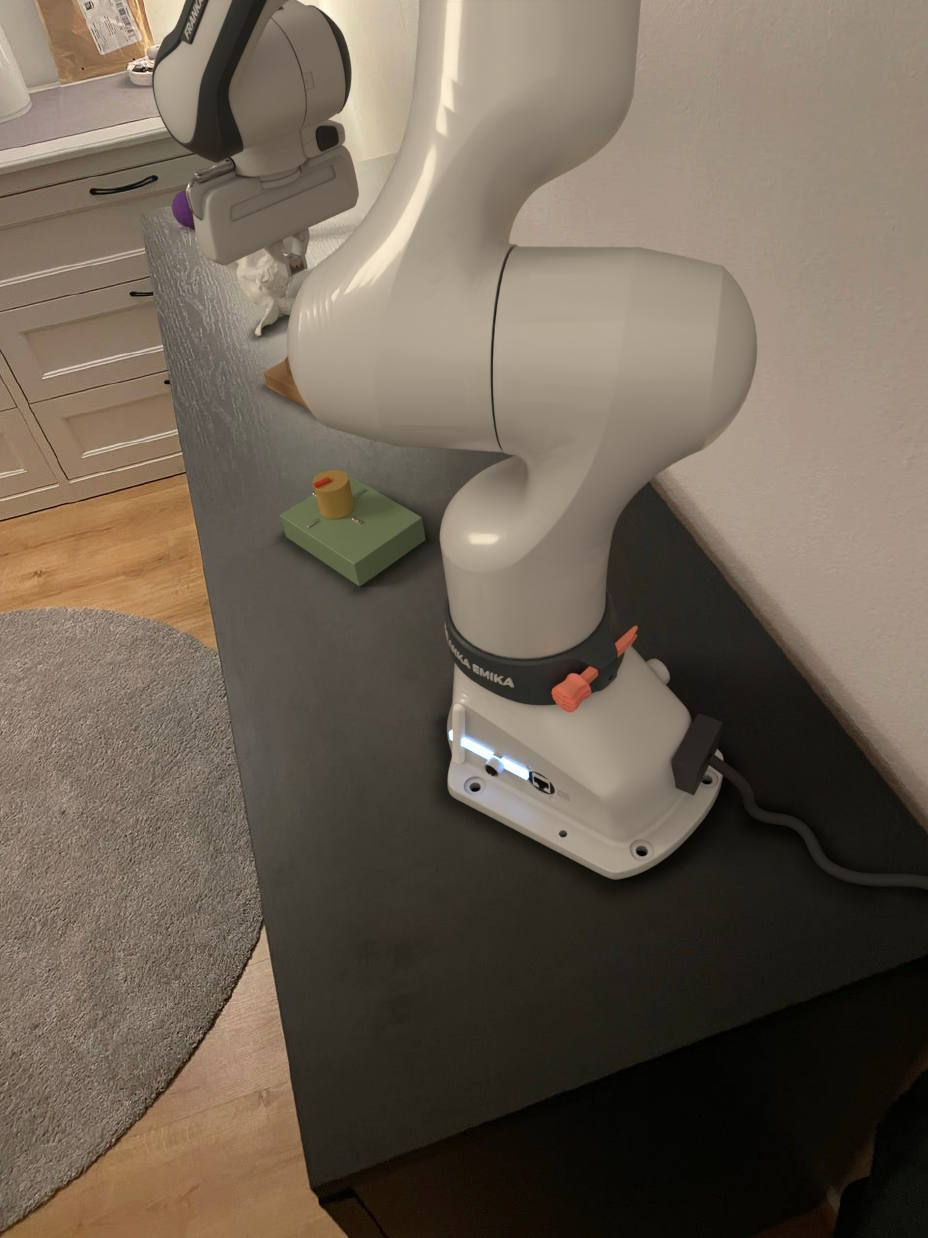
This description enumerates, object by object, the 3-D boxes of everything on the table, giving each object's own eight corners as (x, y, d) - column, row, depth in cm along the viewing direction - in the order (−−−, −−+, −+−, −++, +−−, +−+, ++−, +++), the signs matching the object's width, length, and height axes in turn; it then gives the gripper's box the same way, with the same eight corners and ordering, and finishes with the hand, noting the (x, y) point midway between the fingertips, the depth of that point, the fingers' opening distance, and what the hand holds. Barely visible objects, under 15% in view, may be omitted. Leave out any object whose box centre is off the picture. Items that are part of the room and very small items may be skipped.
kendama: (288, 188, 154) (171, 203, 150) (292, 220, 159) (179, 236, 154) (281, 170, 157) (166, 185, 153) (285, 203, 162) (173, 218, 158)
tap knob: (344, 492, 93) (337, 462, 90) (360, 509, 90) (354, 479, 88) (313, 506, 91) (305, 476, 89) (329, 523, 89) (322, 493, 86)
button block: (374, 383, 113) (369, 355, 110) (319, 415, 109) (312, 386, 106) (320, 358, 119) (314, 330, 116) (267, 387, 115) (259, 359, 112)
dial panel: (426, 540, 91) (422, 515, 88) (359, 587, 87) (353, 563, 84) (351, 495, 97) (345, 471, 95) (286, 537, 93) (278, 513, 91)
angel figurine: (299, 359, 129) (222, 324, 121) (272, 290, 141) (200, 253, 133) (349, 282, 123) (272, 239, 115) (316, 216, 135) (244, 173, 127)
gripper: (198, 182, 87) (236, 315, 97) (355, 120, 97) (376, 247, 106) (164, 171, 91) (205, 299, 101) (319, 112, 100) (342, 235, 110)
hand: (294, 272), depth 104 cm, fingers closed
